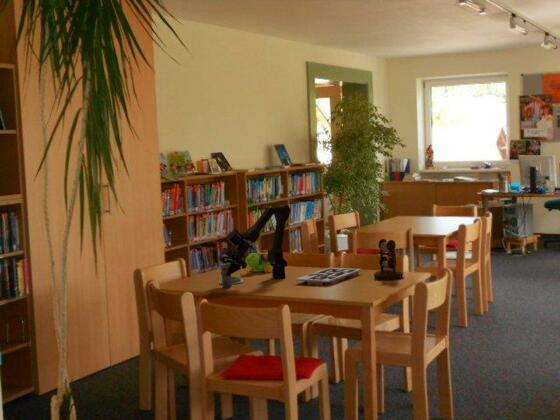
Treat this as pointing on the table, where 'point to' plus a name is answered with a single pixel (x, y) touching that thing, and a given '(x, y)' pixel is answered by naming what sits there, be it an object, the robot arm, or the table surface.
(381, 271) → the dark figurine on base
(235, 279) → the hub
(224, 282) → the knob
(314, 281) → the maze game
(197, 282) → the table surface
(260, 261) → the turtle toy
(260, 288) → the table surface
